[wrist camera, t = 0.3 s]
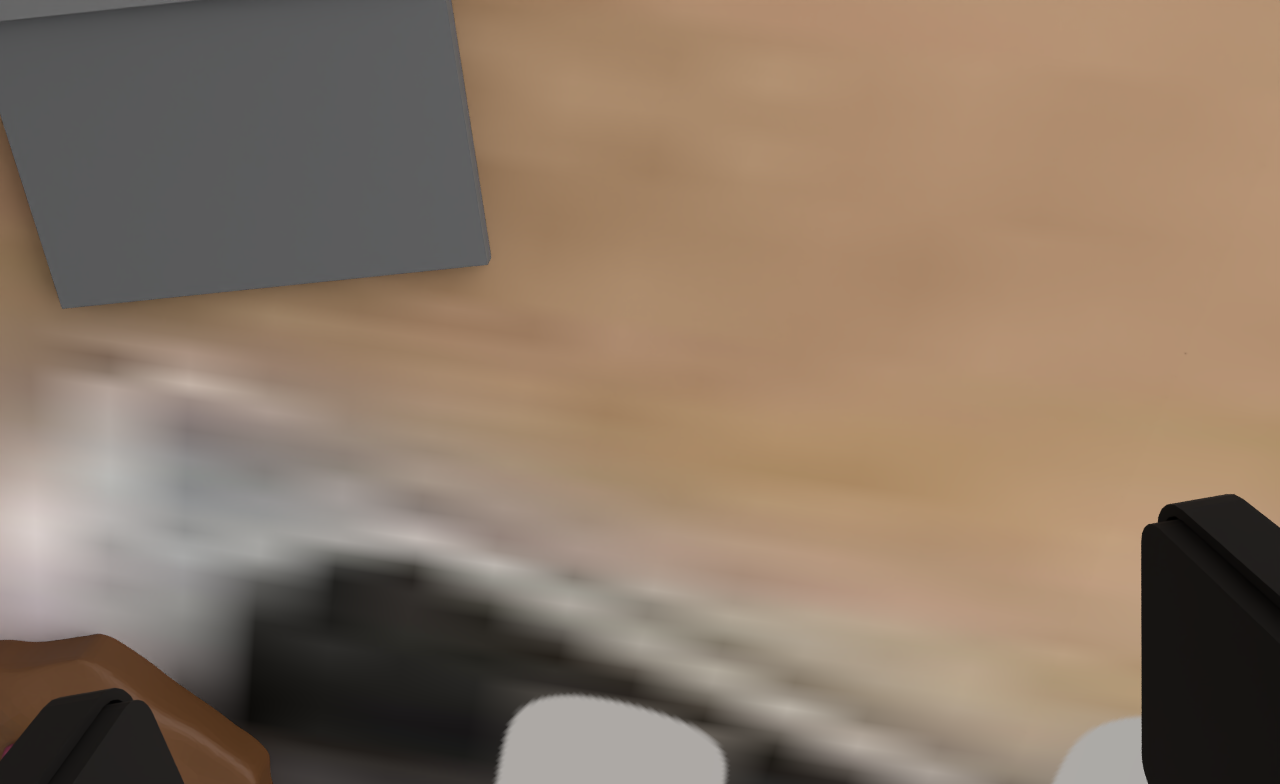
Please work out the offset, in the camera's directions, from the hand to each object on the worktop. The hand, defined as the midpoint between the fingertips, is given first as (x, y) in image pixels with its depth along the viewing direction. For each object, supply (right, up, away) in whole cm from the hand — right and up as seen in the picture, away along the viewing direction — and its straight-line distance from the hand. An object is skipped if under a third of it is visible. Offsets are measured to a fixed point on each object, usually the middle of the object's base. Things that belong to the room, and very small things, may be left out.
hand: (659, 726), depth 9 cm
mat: (-14, +13, +27) cm, 33 cm away
